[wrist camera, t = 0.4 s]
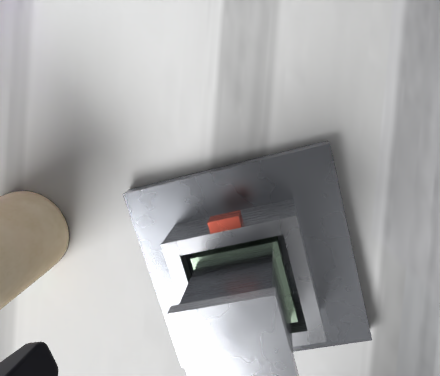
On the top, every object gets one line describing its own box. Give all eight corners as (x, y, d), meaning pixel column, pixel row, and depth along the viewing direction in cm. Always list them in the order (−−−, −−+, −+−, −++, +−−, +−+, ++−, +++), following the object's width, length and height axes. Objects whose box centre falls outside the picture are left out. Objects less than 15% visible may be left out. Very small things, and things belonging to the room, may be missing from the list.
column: (295, 296, 23) (304, 394, 16) (220, 309, 24) (195, 407, 17) (277, 223, 22) (277, 292, 15) (199, 239, 23) (163, 312, 16)
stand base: (368, 329, 24) (385, 376, 20) (184, 357, 26) (169, 403, 23) (327, 140, 22) (338, 152, 18) (128, 189, 24) (100, 209, 20)
